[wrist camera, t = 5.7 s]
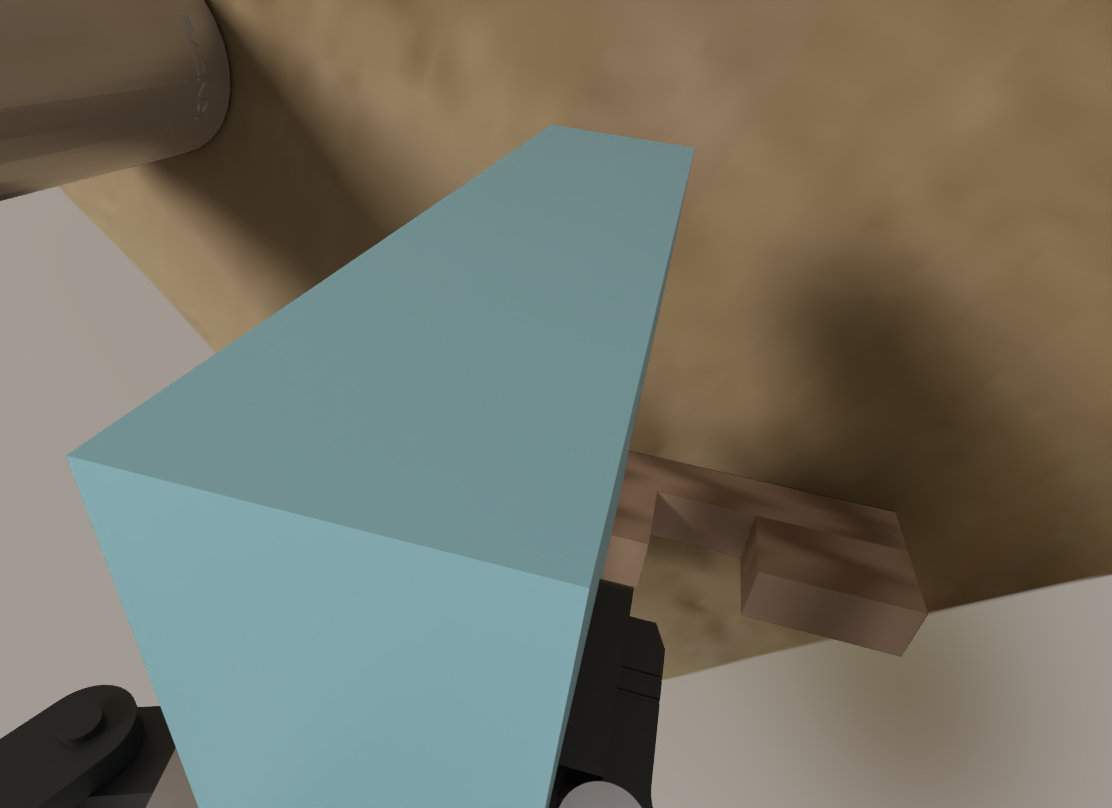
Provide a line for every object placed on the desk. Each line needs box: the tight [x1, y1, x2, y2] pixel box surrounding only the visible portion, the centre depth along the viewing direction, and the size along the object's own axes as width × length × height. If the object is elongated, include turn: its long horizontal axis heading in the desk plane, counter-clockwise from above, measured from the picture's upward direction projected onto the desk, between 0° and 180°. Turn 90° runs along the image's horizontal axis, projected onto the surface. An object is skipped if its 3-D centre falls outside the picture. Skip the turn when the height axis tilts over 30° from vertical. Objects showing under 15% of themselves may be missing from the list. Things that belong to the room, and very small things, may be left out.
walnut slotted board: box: [602, 451, 928, 656], centre depth 34 cm, size 20×3×7 cm, turn 83°
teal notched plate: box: [66, 125, 695, 808], centre depth 14 cm, size 14×4×14 cm, turn 173°
